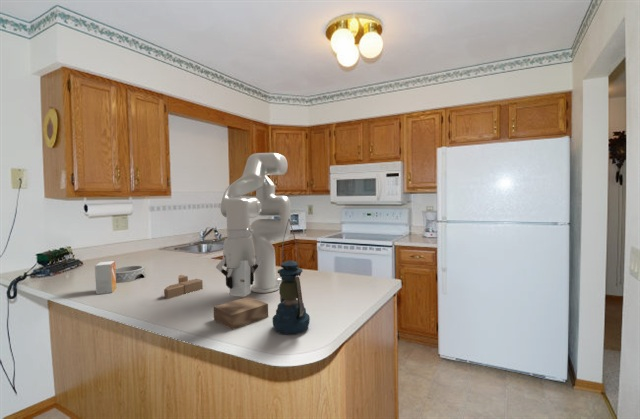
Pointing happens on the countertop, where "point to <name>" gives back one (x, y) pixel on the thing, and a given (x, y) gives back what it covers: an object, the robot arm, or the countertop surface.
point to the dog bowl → (129, 273)
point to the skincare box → (241, 280)
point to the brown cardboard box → (240, 312)
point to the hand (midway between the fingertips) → (240, 285)
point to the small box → (105, 277)
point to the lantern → (290, 299)
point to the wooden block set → (183, 287)
